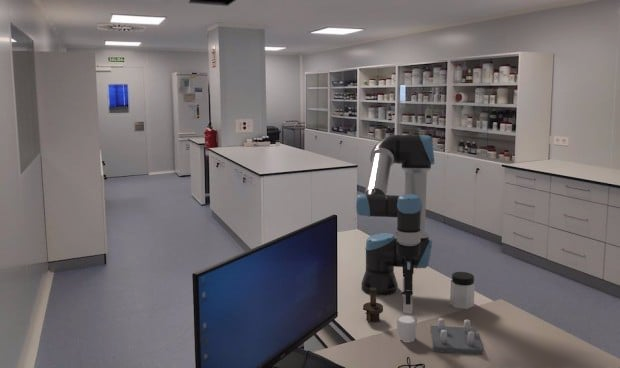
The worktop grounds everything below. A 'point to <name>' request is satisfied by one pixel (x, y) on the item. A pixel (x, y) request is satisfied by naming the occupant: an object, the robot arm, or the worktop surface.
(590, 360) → the worktop surface
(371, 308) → the industrial component
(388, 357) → the worktop surface
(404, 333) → the shot glass
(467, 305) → the jar
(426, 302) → the worktop surface
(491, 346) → the worktop surface
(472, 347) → the pin plate
